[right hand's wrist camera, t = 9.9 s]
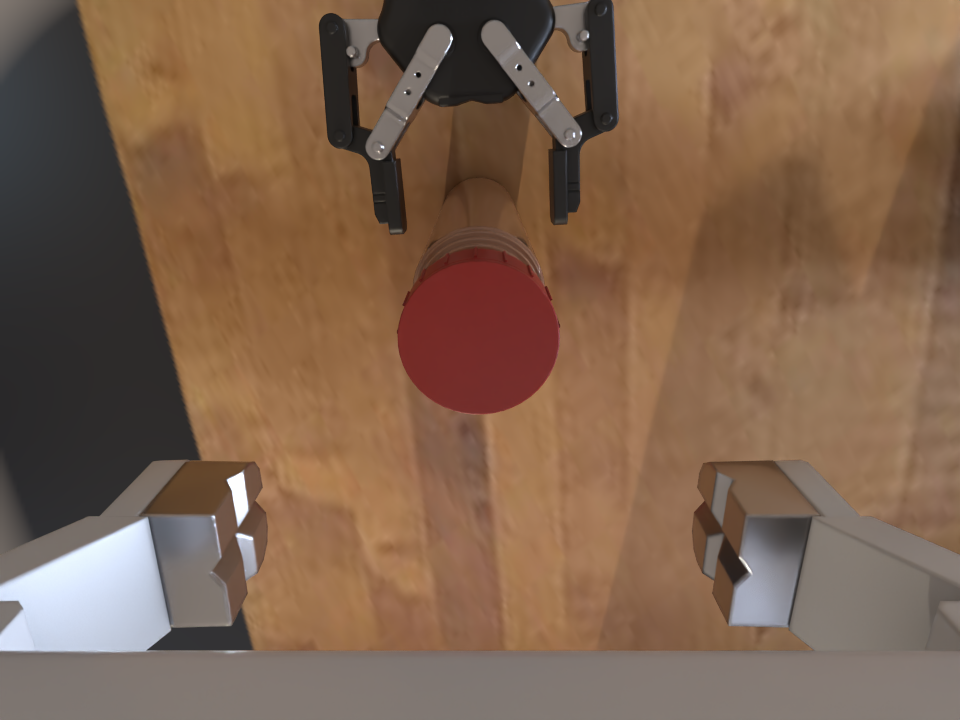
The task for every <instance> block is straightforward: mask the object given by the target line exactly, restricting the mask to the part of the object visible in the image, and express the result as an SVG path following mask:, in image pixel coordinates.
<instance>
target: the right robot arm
mask: <svg viewBox="0 0 960 720" xmlns="http://www.w3.org/2000/svg"><path fill="white" fill-rule="evenodd" d="M262 488H263V487H262V481H261V475H260V469H259V467H258V466H257V464H256V463H255V462H240V461H189V460H166V461H154V462H152V463H151V464H150V465H149V466H148V467H147V468H146V469H145V470H144V471H143V472H142V473H141V474H140V475H139V476H138V477H137V478H136V479H135V480H134V482H133V483H132V484H131V485H130V486H129V487H128V488H127V489H126V490H125V491H124V492H123V493H122V494H121V495H120V496H119V497H118V498H117V499H116V500H115V501H114V502H113V503H112V504H111V505H110V506H109V507H108V508H107V509H106V510H105V511H104V512H103V513H102V514H101V515H100V516H92V517H90V516H89V517H86V518H84V519H82V520H79V521H77V522H75V523H72V524H70V525H68V526H66V527H63V528H61V529H58V530H56V531H54V532H51V533H49V534H47V535H44V536H42V537H40V538H37V539H35V540H33V541H30V542H28V543H26V544H24V545H21V546H19V547H17V548H14V549H12V550H10V551H7V552H5V553H3V554H0V720H960V554H957V553H955V552H953V551H950V550H948V549H946V548H943V547H941V546H939V545H936V544H934V543H932V542H929V541H927V540H925V539H922V538H920V537H918V536H915V535H913V534H911V533H908V532H906V531H904V530H902V529H899V528H897V527H895V526H892V525H890V524H888V523H885V522H883V521H881V520H878V519H876V518H874V517H871V516H860V515H859V514H858V513H857V512H856V511H855V510H854V509H853V508H852V507H851V506H850V505H849V504H848V503H847V502H846V501H845V500H844V499H843V498H842V497H841V496H840V495H839V494H838V493H837V492H836V491H835V490H834V489H833V488H832V487H831V486H830V484H829V483H828V482H827V481H826V480H825V479H824V478H823V477H822V476H821V475H820V474H819V473H818V472H817V471H816V470H815V469H814V468H813V467H812V466H811V465H810V464H809V463H808V462H806V461H803V460H783V461H773V460H772V461H730V462H707V463H703V465H702V468H701V470H700V473H699V480H698V486H697V488H698V489H699V491H700V493H701V495H702V496H703V498H704V500H705V501H704V502H703V503H702V504H701V505H700V507H699V508H698V509H697V510H696V511H695V512H694V518H693V528H692V535H693V548H694V552H695V556H696V560H697V563H698V565H699V567H700V569H701V571H702V573H703V574H705V575H706V576H708V577H709V578H711V579H712V580H714V585H713V592H712V594H713V596H714V598H715V600H716V602H717V604H718V606H719V608H720V610H721V612H722V614H723V616H724V618H725V620H726V622H727V624H728V626H754V627H789V631H791V632H792V633H793V634H794V635H796V636H797V637H798V638H799V639H801V640H802V641H803V642H804V643H806V644H807V645H808V646H810V647H811V648H812V649H813V650H815V651H146V650H147V649H148V648H149V647H151V646H152V645H153V644H155V643H156V642H157V641H158V640H160V639H161V638H162V637H163V636H165V635H166V634H167V633H168V632H170V631H171V627H205V626H231V625H232V624H233V622H234V620H235V618H236V616H237V614H238V612H239V610H240V608H241V606H242V604H243V602H244V600H245V598H246V596H247V594H248V592H247V585H246V580H248V579H249V578H251V577H252V576H254V575H255V574H257V573H258V571H259V569H260V567H261V565H262V562H263V560H264V556H265V551H266V546H267V535H268V525H267V517H266V512H265V511H264V510H263V509H262V508H261V507H260V505H259V504H258V503H257V502H256V501H255V500H256V498H257V496H258V495H259V493H260V491H261V489H262Z"/></svg>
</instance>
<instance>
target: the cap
mask: <svg viewBox="0 0 960 720" xmlns="http://www.w3.org/2000/svg"><path fill="white" fill-rule="evenodd" d="M551 300H552V297H551V295H550V292H549V290H548V288H547V286H546V287H544V285H543V283H542V282H541V280H540V279H539V278H538V276H537V275H536V274H535V273H534V272H533V271H532V269H531V266H530V265H529V264H528V266H527V265H525V264H524V263H523V262H522V261H520V260H518V259H517V258H515V257H513V256H511V255H508V254H506V251H503V252H500V251H496V250H491V249H477V247H474V249H467V250H462V251H458V252H454V253H452V254H449V253H446V256H444V257H443V258H441V259H439V260H437V261H436V262H435V263H433V264H432V265H431V266H429V267H428V268H427V269H425V268H424V269H423V270H422V273H421V276H420V277H419V278H418V280H417V281H416V282H415V284H414V286H413V288H412V289H411V292H409V291H408V293H407V295H406V298H405V300H404V303H403V306H405V307H404V309H403V312H402V314H401V318H400V322H399V327H398V330H397V334H398V348H399V353H400V357H401V360H402V363H403V366H404V368H405V370H406V372H407V374H408V376H409V377H410V379H411V380H412V382H413V383H414V384H415V385H416V387H417V388H418V389H419V390H420V391H421V392H422V393H423V394H425V395H426V396H427V397H428V398H430V399H431V400H432V401H434V402H435V403H437V404H439V405H441V406H443V407H445V408H448V409H451V410H453V411H457V412H461V413H467V414H490V413H496V412H500V411H504V410H507V409H510V408H512V407H514V406H516V405H518V404H520V403H522V402H523V401H525V400H526V399H528V398H529V397H531V396H532V395H533V394H534V393H535V392H536V391H537V390H538V389H539V388H540V387H541V386H542V385H543V384H544V382H545V381H546V379H547V378H548V376H549V375H550V373H551V371H552V369H553V367H554V365H555V362H556V359H557V355H558V350H559V341H560V333H559V328H560V324H559V321H558V319H557V316H556V313H555V311H554V308H553V305H552V303H551Z"/></svg>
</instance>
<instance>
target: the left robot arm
mask: <svg viewBox="0 0 960 720" xmlns="http://www.w3.org/2000/svg"><path fill="white" fill-rule="evenodd" d="M554 30H558V31H560V32H562V33H563V34H564V35H565V36H566V39H567V43H568V46H569V48H570V49H571V50H572V51H574V52H577V53H580V52H582V60H583V75H584V91H585V107H586V111H585V112H583V113H581V114H579V115H577V116H574V117H572V116H571V114H570V113H569V112H568V111H567V109H566V108H565V107H564V105H563V104H562V103H561V101H560V100H559V99H558V97H557V95H556V93H555V92H554V90H553V89H552V88H551V86H550V85H549V84H548V82H547V81H546V80H545V78H544V77H543V76H542V75H541V73H540V72H539V71H538V69H537V68H536V67H535V65H534V64H535V62H536V61H537V59H538V57H539V56H540V54H541V52H542V51H543V49H544V47H545V46H546V44H547V42H548V41H549V39H550V37H551V36H552V34H553V31H554ZM319 34H320V46H321V59H322V72H323V84H324V97H325V110H326V123H327V135H328V140H329V142H330V143H331V145H333V146H334V147H336V148H339V149H345V150H349V151H352V152H355V153H358V154H360V155H362V156H363V157H364V158H365V159H366V160H367V162H368V164H369V168H370V176H371V184H372V193H373V201H374V210H375V215H376V217H377V219H378V221H379V223H380V224H389V231H390V234H391V235H395V234H404V233H405V232H406V230H407V221H406V211H405V201H404V191H403V181H402V171H401V161H400V159H396V155H395V150H396V148H397V146H398V145H399V143H400V141H401V140H402V138H403V136H404V134H405V133H406V131H407V129H408V128H409V126H410V124H411V123H412V122H413V120H414V119H415V117H416V116H417V114H418V112H419V111H420V109H421V107H422V106H423V104H424V102H425V100H427V101H429V102H430V103H432V104H435V105H438V106H440V107H450V106H458V105H460V104H463V103H466V102H469V101H475V102H480V103H485V104H494V103H502V102H503V101H506V100H508V99H509V98H511V97H512V96H513V95H514V94H517V95H518V96H519V97H520V99H521V100H522V101H523V103H524V104H525V105H526V106H527V108H528V109H529V110H530V111H531V113H532V114H533V115H534V116H535V117H536V118H537V119H538V121H539V122H540V123H541V125H542V126H543V127H544V128H545V130H546V131H547V132H548V133H549V135H550V136H551V137H552V142H553V149H548V152H549V191H550V218H551V222H552V223H553V225H563V224H567V222H568V213H570V212H577V209H578V206H579V204H580V149H581V147H582V145H583V144H584V143H585V141H587V140H588V139H590V138H592V137H594V136H597V135H599V134H601V133H603V132H607V131H611V130H612V129H614V128H615V127H616V125H617V123H618V120H619V113H618V92H617V71H616V50H615V29H614V8H613V3H612V1H611V0H590V1H588V2H583V3H576V4H569V5H562V6H555V7H553V6H552V4H551V2H550V1H549V0H384V3H383V8H382V11H381V14H380V16H379V19H342V18H341V17H339V16H338V15H336V14H333V13H328V14H326V15H324V16H323V17H322V18H321V20H320V23H319ZM379 42H380V43H381V45H382V46H383V47H384V49H385V50H386V51H387V53H388V54H389V55H390V56H391V58H392V59H393V60H394V61H395V63H396V64H397V65H398V66H399V68H400V69H401V70H402V71H403V73H404V74H403V76H402V78H401V79H400V81H399V83H398V85H397V86H396V88H395V90H394V92H393V93H392V95H391V97H390V99H389V100H388V102H387V104H386V107H385V109H384V112H383V113H382V115H381V117H380V119H379V120H378V122H377V124H376V126H375V127H374V129H373V130H371V129H367V128H364V127H361V126H360V120H359V104H358V88H357V72H356V68H361V67H363V66H364V65H366V63H367V62H368V59H369V52H370V49H371V48H372V46H373V45H374V44H376V43H379Z"/></svg>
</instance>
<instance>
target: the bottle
mask: <svg viewBox="0 0 960 720" xmlns="http://www.w3.org/2000/svg"><path fill="white" fill-rule="evenodd" d="M474 247H477V249H491V250H496V251H500V252H503V251H506V254H508V255H511V256H513V257H515V258H517V259H518V260H520V261H522V262H523V263H524V264H525V265H527V266H528V264H529V265H530V266H531V269H532V271H533V272H534V273H535V274H536V275H537V276H538V278H539V279H540V280H541V282H542V283H543V285H544V287H545V284H544V278H543V273H542V270H541V268H540V265H539V263H538V260H537V258H536V255H535V253H534V250H533V248H532V246H531V243H530V241H529V238H528V236H527V234H526V231H525V229H524V226H523V224H522V222H521V219H520V217H519V214H518V212H517V210H516V207H515V205H514V202H513V200H512V198H511V196H510V194H509V193H508V191H507V190H506V189H505V188H504V187H503V186H502V185H500V184H499V183H497V182H496V181H494V180H491V179H488V178H482V177H476V178H470V179H467V180H464V181H462V182H460V183H459V184H457V185H456V186H455V187H454V188H453V189H452V190H451V191H450V193H449V194H448V196H447V197H446V199H445V202H444V204H443V207H442V209H441V211H440V214H439V216H438V219H437V221H436V223H435V226H434V228H433V231H432V233H431V235H430V238H429V240H428V242H427V245H426V247H425V250H424V252H423V254H422V257H421V259H420V262H419V264H418V267H417V269H416V272H415V276H414V280H413V286H414V284H415V282H416V281H417V280H418V278H419V277H420V276H421V273H422V270H423V269H424V268H425V269H427V268H428V267H429V266H431V265H432V264H433V263H435V262H436V261H437V260H439V259H441V258H443V257H444V256H446V253H449V254H452V253H454V252H458V251H462V250H467V249H474Z"/></svg>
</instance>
